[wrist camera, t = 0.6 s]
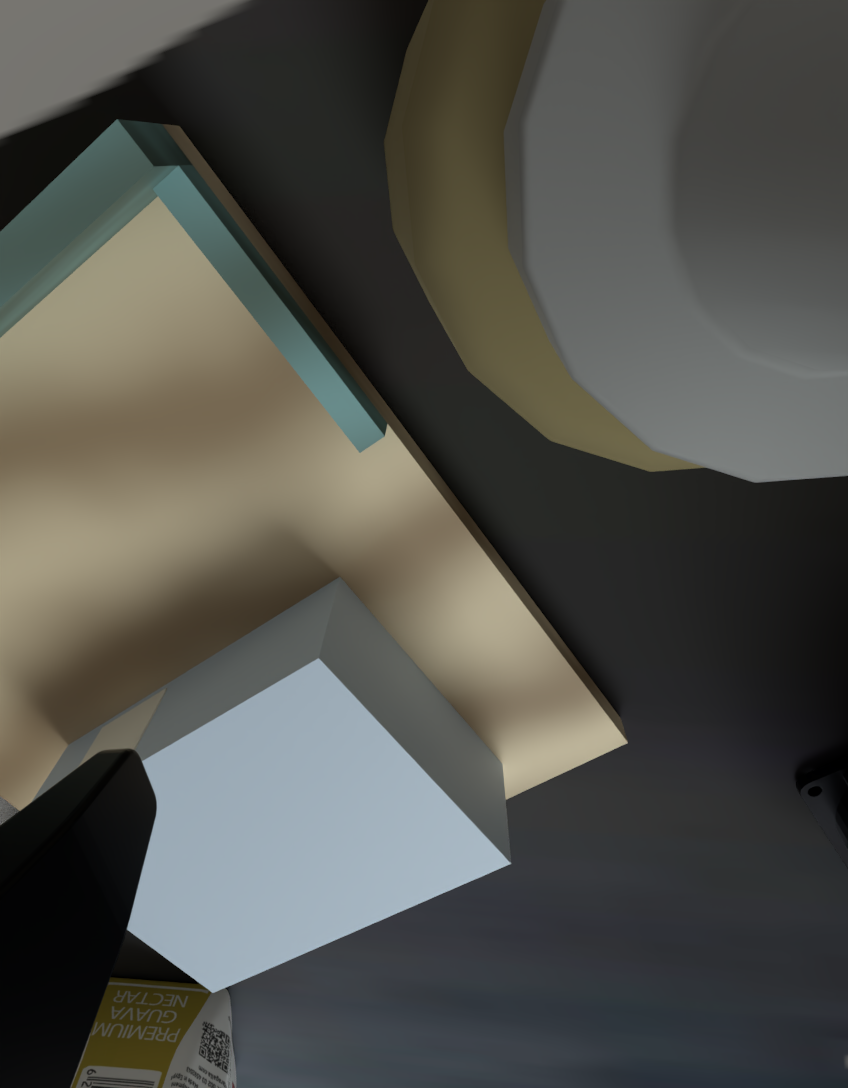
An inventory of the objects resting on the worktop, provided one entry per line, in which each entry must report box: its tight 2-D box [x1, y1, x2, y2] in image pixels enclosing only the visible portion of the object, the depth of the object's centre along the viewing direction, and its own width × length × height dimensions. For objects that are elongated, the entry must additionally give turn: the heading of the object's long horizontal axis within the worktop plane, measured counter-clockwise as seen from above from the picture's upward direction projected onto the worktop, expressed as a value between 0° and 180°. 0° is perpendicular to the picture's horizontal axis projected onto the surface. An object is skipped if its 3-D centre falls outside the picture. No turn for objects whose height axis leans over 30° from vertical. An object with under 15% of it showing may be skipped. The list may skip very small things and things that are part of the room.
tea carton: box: [32, 577, 511, 993], centre depth 23 cm, size 9×12×4 cm
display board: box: [0, 119, 628, 811], centre depth 23 cm, size 22×20×4 cm
